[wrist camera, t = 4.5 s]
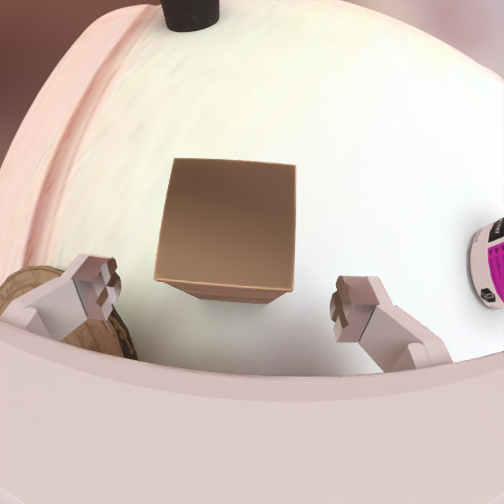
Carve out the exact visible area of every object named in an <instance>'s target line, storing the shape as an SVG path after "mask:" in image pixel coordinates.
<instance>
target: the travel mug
mask: <svg viewBox="0 0 504 504" xmlns="http://www.w3.org/2000/svg"><path fill="white" fill-rule="evenodd" d="M160 1H161V5H162V9H163V13H164V17H165V20H166V24H167V26H168V28H169V29H170V30H172V31H177V32H190V31H196V30H201V29H204V28H207V27H209V26H211V25H213V24H215V23H216V22H217V21H218V19H219V0H160Z"/></svg>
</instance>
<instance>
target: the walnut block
mask: <svg viewBox="0 0 504 504" xmlns="http://www.w3.org/2000/svg"><path fill="white" fill-rule="evenodd" d="M295 227H296V165H291V164H281V163H270V162H258V161H244V160H226V159H200V158H174V161H173V166H172V171H171V175H170V180H169V185H168V190H167V195H166V200H165V206H164V211H163V217H162V223H161V229H160V235H159V241H158V248H157V255H156V262H155V270H154V278H153V279H154V280H156V281H158V282H165V283H167V284H169V285H171V286H173V287H175V288H177V289H179V290H182V291H184V292H186V293H188V294H190V295H193V296H195V297H197V298H199V299H208V300H220V301H232V302H245V303H259V304H268V303H270V302H271V301H273V300H275V299H276V298H278V297H280V296H281V295H283V294H284V293H286V292H292V291H293V284H294V260H295Z"/></svg>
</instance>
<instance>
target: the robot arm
mask: <svg viewBox="0 0 504 504" xmlns="http://www.w3.org/2000/svg"><path fill="white" fill-rule="evenodd" d="M116 269H117V264H116V260H115V259H114V258H113V257H105V256H97V255H88V254H80V255H78V256H77V257H76V258H75V260H74V261H73V262H72V263H71V264H70V266H69V267H68V268H67V269H66V270H65V272H64V273H63V274H62V275H61V276H60V277H56V278H54V279H52V280H50V281H48V282H46V283H44V284H42V285H40V286H39V287H37V288H35V289H33V290H31V291H29V292H27V293H25V294H24V295H22V296H20V297H18V298H16V299H15V300H13V301H12V302H11V303H10V304H9V306H8V307H7V308H6V309H5V311H4V312H3V313H2V315H1V316H0V504H504V351H502V352H499V353H495V354H491V355H487V356H483V357H479V358H474V359H470V360H465V361H460V362H455V363H453V361H452V359H451V357H450V355H449V353H448V351H447V349H446V347H445V345H444V343H443V341H442V339H440V338H439V337H438V336H437V335H435V334H434V333H433V332H431V331H430V330H429V329H427V328H426V327H425V326H424V325H422V324H421V323H420V322H418V321H417V320H416V319H414V318H413V317H412V316H410V315H409V314H408V313H406V312H405V311H403V310H402V309H401V308H399V307H398V306H397V305H393V304H392V302H391V300H390V298H389V296H388V294H387V292H386V290H385V288H384V286H383V284H382V282H381V280H380V279H379V278H378V277H372V276H365V277H359V276H339V277H338V279H337V282H336V288H337V291H336V292H335V293H333V294H332V298H331V302H330V315H331V319H332V320H333V321H334V322H335V326H334V332H335V336H336V340H337V342H359V345H360V346H361V347H362V348H363V349H364V350H365V351H366V352H367V354H368V355H369V356H370V357H371V358H372V359H373V360H374V361H375V362H376V364H377V365H378V366H379V367H380V368H381V369H382V370H383V372H384V373H376V374H363V375H346V376H309V377H299V376H262V375H244V374H231V373H220V372H210V371H201V370H193V369H185V368H178V367H171V366H165V365H158V364H153V363H147V362H141V361H136V360H131V359H126V358H121V357H117V356H112V355H108V354H104V353H99V352H95V351H91V350H87V349H84V348H80V347H76V346H73V345H69V344H66V343H62V342H60V341H61V340H62V339H63V338H65V337H66V336H67V335H68V334H70V333H71V332H72V331H73V330H75V329H76V328H77V327H78V326H80V325H81V324H82V323H83V322H85V321H86V320H87V319H88V318H91V319H97V320H103V321H106V320H107V319H108V317H109V315H110V313H111V311H112V309H113V308H112V305H111V304H113V303H114V302H116V301H117V300H118V298H119V296H120V292H121V280H120V277H119V276H118V274H117V273H116V272H115V271H116Z"/></svg>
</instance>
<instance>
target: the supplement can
mask: <svg viewBox="0 0 504 504" xmlns="http://www.w3.org/2000/svg"><path fill="white" fill-rule="evenodd" d="M470 271H471V276H472V282H473V284H474V286H475V289H476V291H477V293H478V295H479V297H480V298H481V299H482V300H483V302H484V303H485V304H486V306H488V307H490V308H492V309H500V308H504V218H502V219H500V220H498V221H496V222H494V223H492V224H490V225H488V226H486V227H484V228H482V229H480V230H479V231H478V232H477V234H476V236H475V237H474V239H473V244H472V249H471V254H470Z"/></svg>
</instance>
